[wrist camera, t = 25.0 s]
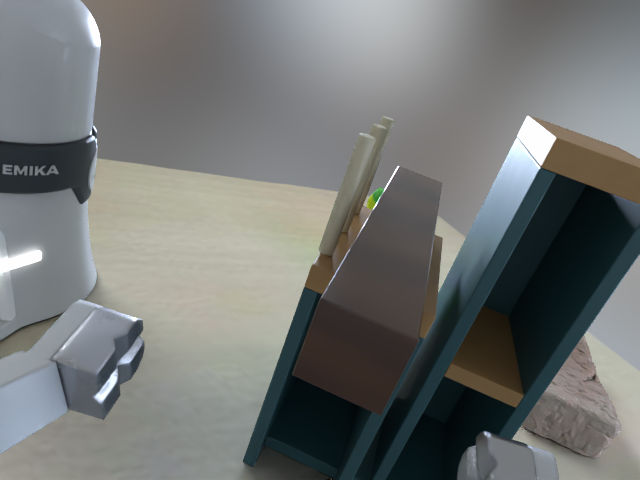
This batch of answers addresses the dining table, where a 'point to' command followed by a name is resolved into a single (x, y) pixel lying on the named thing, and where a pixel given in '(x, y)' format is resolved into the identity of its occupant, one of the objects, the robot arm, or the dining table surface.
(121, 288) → the dining table surface
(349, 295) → the block
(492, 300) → the plate rack
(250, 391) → the dining table surface
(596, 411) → the brick
